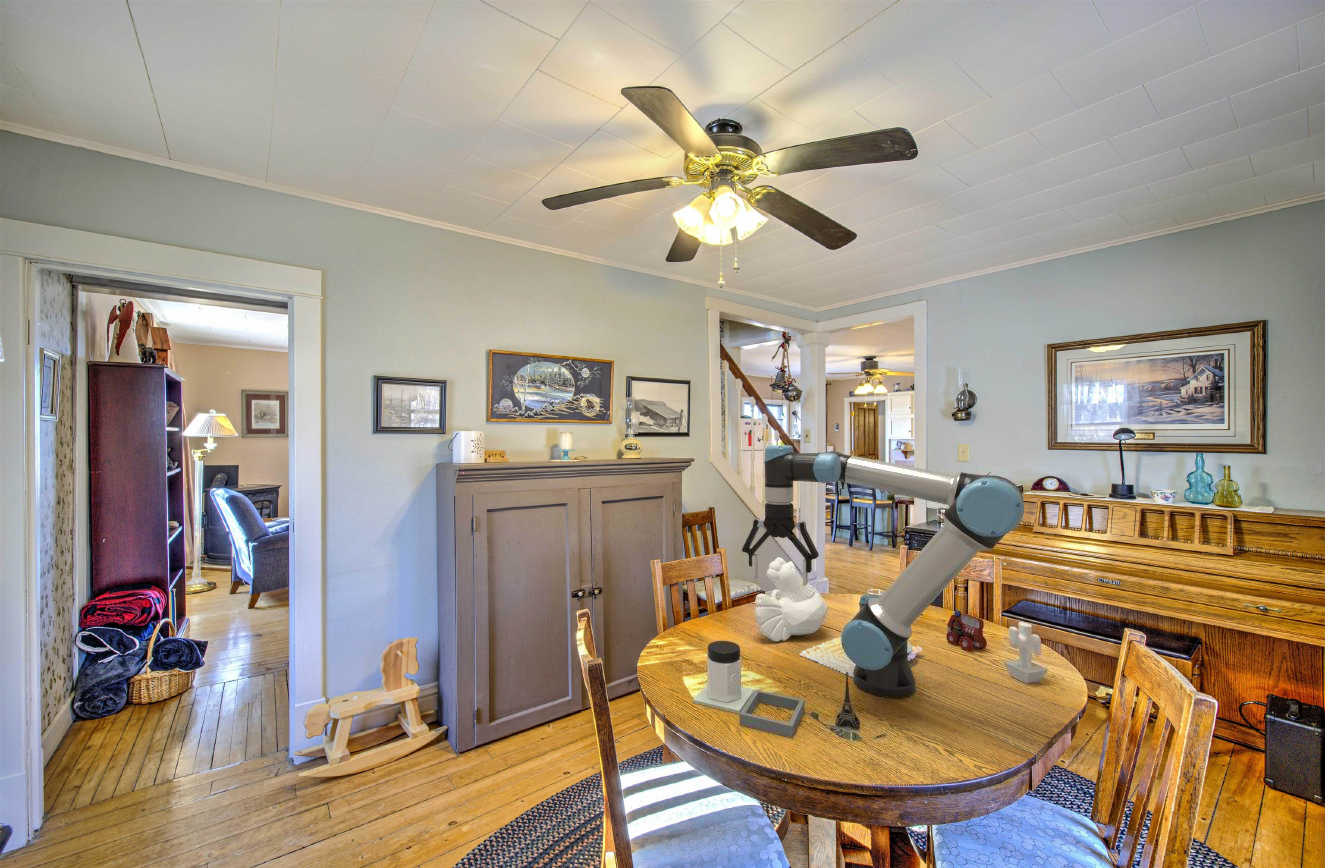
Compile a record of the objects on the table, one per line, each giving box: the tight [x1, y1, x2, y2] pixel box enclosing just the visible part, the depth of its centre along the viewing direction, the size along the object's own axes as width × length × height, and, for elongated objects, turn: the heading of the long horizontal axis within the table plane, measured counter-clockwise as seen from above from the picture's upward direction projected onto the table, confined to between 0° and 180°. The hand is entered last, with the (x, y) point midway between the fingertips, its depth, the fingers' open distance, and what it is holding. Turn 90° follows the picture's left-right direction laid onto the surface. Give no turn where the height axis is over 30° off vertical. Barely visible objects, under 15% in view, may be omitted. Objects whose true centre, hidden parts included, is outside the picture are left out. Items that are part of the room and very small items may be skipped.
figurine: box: [1003, 621, 1050, 684], centre depth 143 cm, size 7×9×15 cm
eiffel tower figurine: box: [807, 671, 887, 742], centre depth 121 cm, size 15×10×13 cm
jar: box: [706, 640, 742, 703], centre depth 134 cm, size 9×8×12 cm
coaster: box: [692, 683, 755, 714], centre depth 134 cm, size 12×12×1 cm
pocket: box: [738, 689, 806, 739], centre depth 124 cm, size 12×13×2 cm
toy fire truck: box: [946, 610, 988, 652], centre depth 165 cm, size 7×12×10 cm, turn 17°
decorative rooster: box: [754, 556, 828, 643], centre depth 176 cm, size 25×16×25 cm
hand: (779, 581), depth 142 cm, fingers open, 13 cm apart
